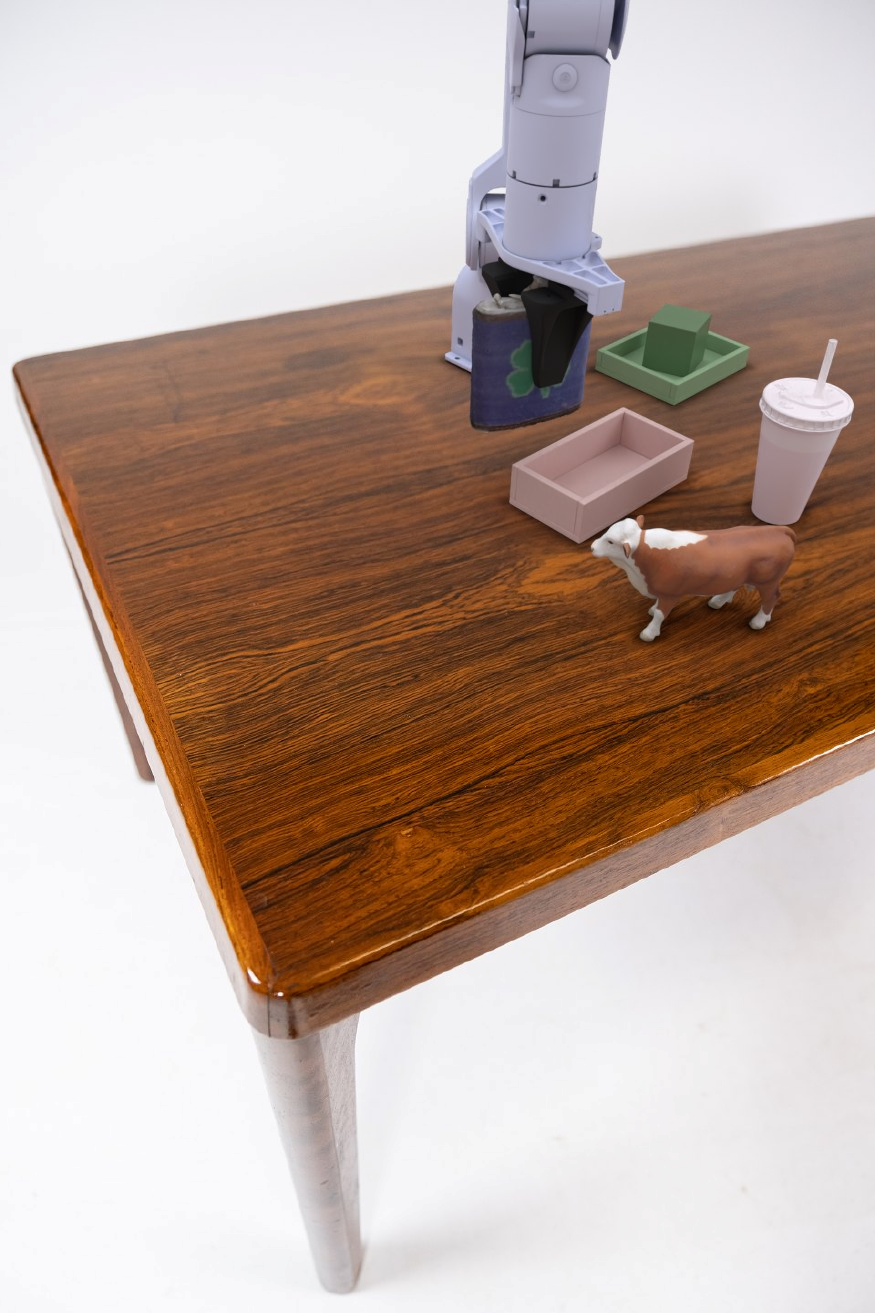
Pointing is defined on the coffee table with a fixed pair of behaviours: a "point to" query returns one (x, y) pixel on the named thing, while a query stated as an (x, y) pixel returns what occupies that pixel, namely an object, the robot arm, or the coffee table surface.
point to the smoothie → (796, 441)
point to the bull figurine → (699, 564)
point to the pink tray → (600, 473)
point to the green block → (676, 340)
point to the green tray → (627, 367)
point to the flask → (516, 369)
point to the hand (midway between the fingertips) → (535, 373)
